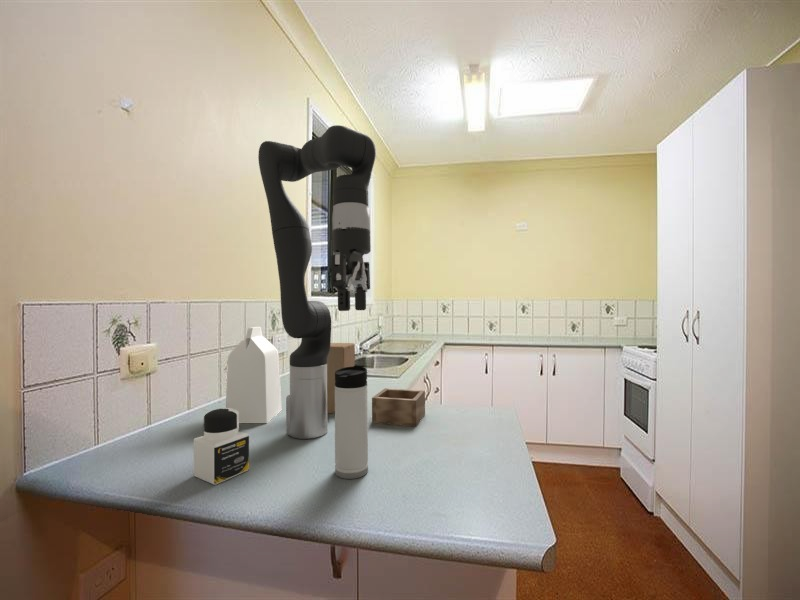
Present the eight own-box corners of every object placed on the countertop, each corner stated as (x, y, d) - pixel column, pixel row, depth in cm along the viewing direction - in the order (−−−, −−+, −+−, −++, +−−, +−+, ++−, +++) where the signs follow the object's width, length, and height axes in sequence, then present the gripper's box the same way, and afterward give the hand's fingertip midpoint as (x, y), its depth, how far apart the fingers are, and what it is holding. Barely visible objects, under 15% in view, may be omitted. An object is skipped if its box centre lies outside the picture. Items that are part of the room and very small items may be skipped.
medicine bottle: (214, 486, 65) (214, 418, 65) (192, 476, 68) (192, 412, 69) (249, 470, 71) (249, 408, 71) (228, 462, 74) (227, 403, 75)
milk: (266, 423, 99) (266, 328, 99) (224, 423, 99) (224, 328, 99) (281, 410, 111) (281, 325, 111) (244, 411, 111) (244, 326, 111)
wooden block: (355, 405, 116) (355, 343, 116) (343, 414, 106) (343, 346, 107) (326, 403, 118) (326, 342, 119) (312, 412, 109) (312, 345, 109)
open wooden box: (372, 422, 99) (371, 397, 99) (384, 410, 110) (384, 388, 110) (416, 426, 95) (416, 400, 96) (425, 413, 106) (424, 390, 106)
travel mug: (374, 467, 71) (373, 365, 72) (357, 482, 66) (356, 371, 66) (347, 461, 74) (347, 363, 74) (328, 475, 68) (327, 369, 68)
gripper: (348, 237, 80) (349, 310, 80) (317, 223, 67) (318, 311, 66) (380, 235, 78) (381, 310, 78) (355, 219, 65) (357, 310, 64)
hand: (352, 310), depth 72 cm, fingers open, 8 cm apart
